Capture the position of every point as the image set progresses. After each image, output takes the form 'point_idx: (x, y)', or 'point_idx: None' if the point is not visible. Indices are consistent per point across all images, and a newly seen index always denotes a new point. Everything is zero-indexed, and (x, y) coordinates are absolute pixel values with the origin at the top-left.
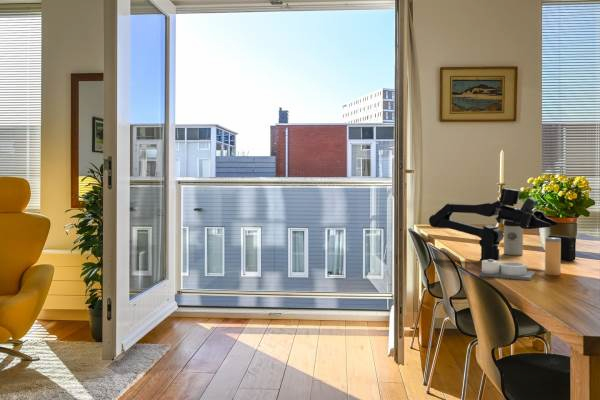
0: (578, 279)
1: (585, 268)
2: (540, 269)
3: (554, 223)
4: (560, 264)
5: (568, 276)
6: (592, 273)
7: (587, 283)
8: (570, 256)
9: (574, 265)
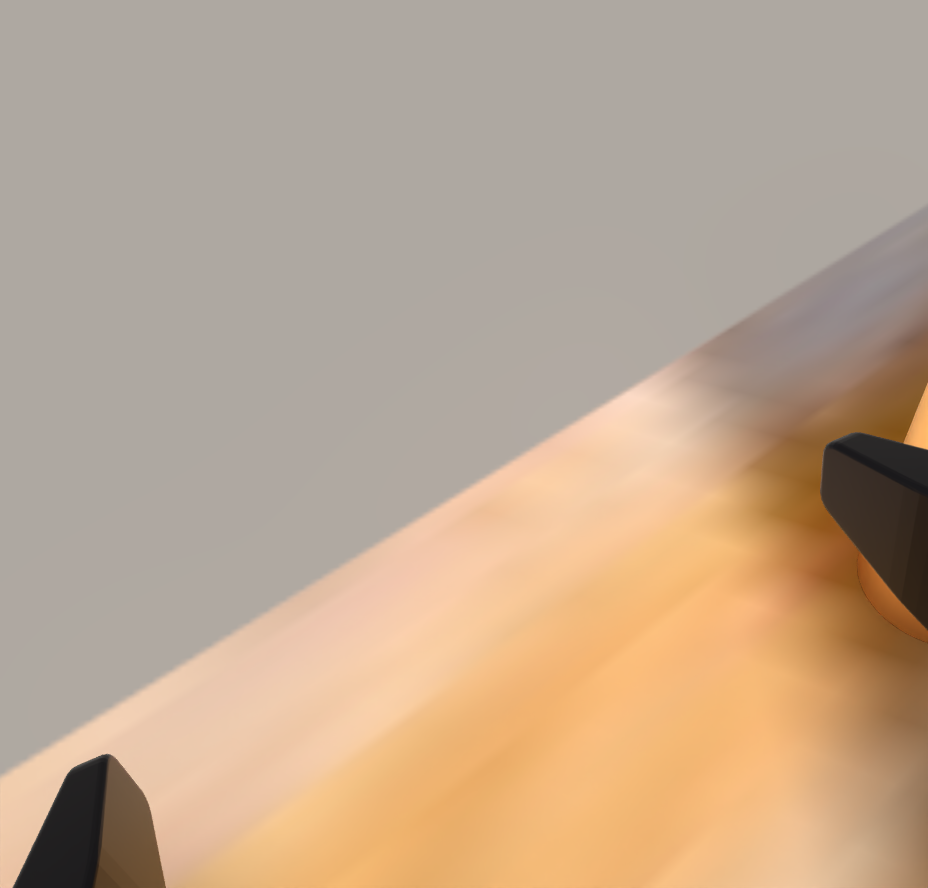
0: (863, 354)
1: (320, 664)
2: (906, 855)
3: (142, 871)
4: None
5: None
6: (522, 470)
7: (901, 262)
8: None
9: (215, 871)
